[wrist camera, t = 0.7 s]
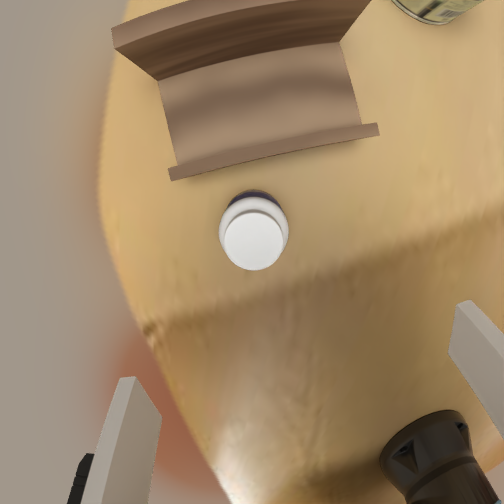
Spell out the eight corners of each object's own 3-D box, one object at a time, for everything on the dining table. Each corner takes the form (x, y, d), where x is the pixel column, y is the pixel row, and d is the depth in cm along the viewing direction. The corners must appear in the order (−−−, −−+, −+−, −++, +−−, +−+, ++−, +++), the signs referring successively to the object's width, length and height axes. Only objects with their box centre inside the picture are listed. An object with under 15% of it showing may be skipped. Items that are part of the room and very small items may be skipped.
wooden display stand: (356, 139, 28) (415, 129, 16) (187, 177, 29) (145, 188, 17) (328, 36, 25) (365, -23, 14) (162, 72, 26) (111, 28, 15)
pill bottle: (221, 193, 29) (208, 206, 21) (279, 186, 29) (289, 197, 21) (229, 249, 31) (220, 283, 22) (285, 242, 31) (296, 275, 22)
